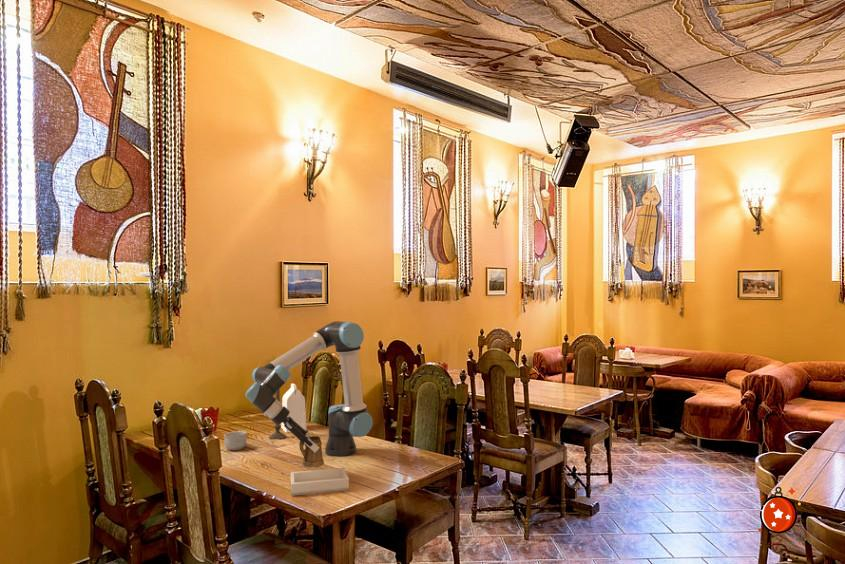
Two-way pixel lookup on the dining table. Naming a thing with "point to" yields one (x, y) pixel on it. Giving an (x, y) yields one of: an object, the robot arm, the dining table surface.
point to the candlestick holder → (277, 434)
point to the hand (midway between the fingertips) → (316, 447)
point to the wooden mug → (312, 452)
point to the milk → (295, 407)
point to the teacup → (235, 440)
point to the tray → (319, 481)
